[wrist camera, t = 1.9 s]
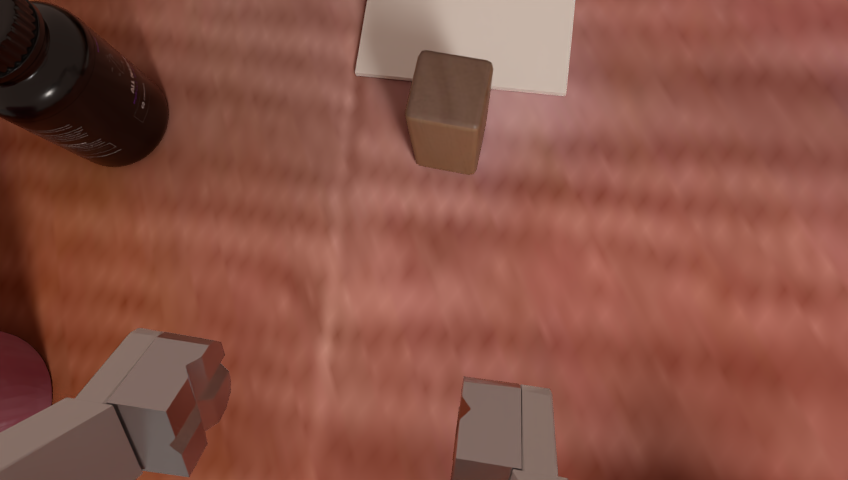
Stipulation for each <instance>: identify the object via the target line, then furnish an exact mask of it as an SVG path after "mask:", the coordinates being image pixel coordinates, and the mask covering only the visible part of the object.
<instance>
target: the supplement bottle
mask: <svg viewBox="0 0 848 480" xmlns="http://www.w3.org/2000/svg"><path fill="white" fill-rule="evenodd" d="M0 117H1V118H3V119H5V120H7V121H9V122H11V123H13V124H15V125H17V126H19V127H21V128H23V129H25V130H27V131H30V132H32V133H34V134H36V135H38V136H40V137H42V138H44V139H46V140H48V141H50V142H52V143H54V144H56V145H58V146H60V147H62V148H64V149H66V150H68V151H70V152H72V153H74V154H76V155H78V156H80V157H83V158H85V159H87V160H89V161H91V162H93V163H96V164H99V165H102V166H108V167H121V166H126V165H130V164H133V163H135V162H138V161H140V160H141V159H143V158H145V157H146V156H147V155H149V154H150V153H151V152H152V151H153V150H154V149H155V148H156V147H157V146H158V144H159V143H160V141H161V140H162V138H163V136H164V134H165V131H166V128H167V124H168V106H167V102H166V99H165V97H164V95H163V93H162V92H161V90H160V89H159V88H158V86H157V85H156V84H155V83H154V82H153V81H151V80H150V79H149V78H148V77H147V76H146V75H145V74H144V73H142V72H141V71H140V70H139V69H138V68H137V67H135V66H134V65H133V64H132V63H131V62H130V61H128V60H127V59H126V58H125V57H124V56H122V55H121V54H120V53H119V52H118V51H117V50H115V49H114V48H113V47H112V46H111V45H109V44H108V43H107V42H106V41H105V40H104V39H102V38H101V37H100V36H99V35H98V34H97V33H95V32H94V31H93V30H92V29H91V28H89V27H88V26H87V25H86V24H85V23H84V22H82V21H81V20H80V19H79V18H77V17H76V16H75V15H73V14H72V13H71V12H69V11H68V10H66V9H64V8H62V7H60V6H57V5H54V4H51V3H46V2H39V1H29V0H0Z"/></svg>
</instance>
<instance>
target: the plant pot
mask: <svg viewBox="0 0 848 480" xmlns="http://www.w3.org/2000/svg"><path fill="white" fill-rule="evenodd" d="M51 404H52V386H51V378H50V375H49V372H48V369H47V367H46V365H45V363H44V361H43V359H42V358H41V356H40V355H39V354H38V352H37V351H36V350H35V349H34V348H33V347H32V346H31V345H30V344H28V343H27V342H26V341H24V340H22V339H21V338H19V337H17V336H14V335H12V334H9V333H5V332H1V331H0V432H2V431H4V430H6V429H8V428H10V427H12V426H14V425H16V424H17V423H19V422H21V421H23V420H25V419H27V418H29V417H31V416H33V415H34V414H36V413H38V412H40V411H42V410H44V409H46V408H48V407H50V406H51Z"/></svg>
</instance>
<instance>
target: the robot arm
mask: <svg viewBox="0 0 848 480" xmlns="http://www.w3.org/2000/svg"><path fill="white" fill-rule="evenodd" d="M224 356H225V353H224V349H223V346H222V343H221V342H218V341H214V340H209V339H203V338H197V337H191V336H186V335H180V334H174V333H169V332H162V331H156V330H149V329H143V328H138V329H136V330H134V331H132V332H131V333H129V334H128V336H127V337H126V338H125V339H124V340H123V342H122V343H121V344H120V345H119V346H118V348H117V349H116V350H115V351H114V352H113V353H112V355H111V356H110V357H109V358H108V359H107V361H106V362H105V363H104V364H103V365H102V367H101V368H100V369H99V370H98V371H97V373H96V374H95V375H94V376H93V377H92V379H91V380H90V381H89V382H88V383H87V385H86V386H85V387H84V388H83V389H82V390H81V392H80V393H79V394H78V395H77V396H76V398H75V399H74V398H65V399H63V400H61V401H59V402H57V403H55V404H53V405H52V406H50V407H48V408H46V409H44V410H42V411H40V412H38V413H36V414H34V415H33V416H31V417H29V418H27V419H25V420H23V421H21V422H19V423H17V424H16V425H14V426H12V427H10V428H8V429H6V430H4V431H2V432H0V480H135V479H137V478H138V477H139V476H140V475H142V473H143V472H142V471H149V472H156V473H163V474H170V475H178V476H185V477H190V475H191V473H192V471H193V469H194V468H195V466H196V464H197V462H198V460H199V458H200V457H201V455H202V453H203V451H204V449H205V447H206V446H207V444H208V443H207V438H206V433H205V431H206V430H208V429H209V428H211V427H212V426H214V425H215V424H217V423H218V422H219V421H220V419H221V417H222V415H223V413H224V411H225V409H226V407H227V403H228V400H229V396H230V393H231V379H230V374H229V371H228V370H227V369H226V368H225V367H224V366H223V365H222V364H221V361H222V359H223V358H224ZM451 480H568V478H564V477H559V476H558V468H557V454H556V440H555V426H554V412H553V399H552V393H551V391H550V389H548V388H541V387H534V386H527V385H519V384H517V383H509V382H502V381H494V380H487V379H479V378H472V377H465V376H464V378H463V384H462V390H461V399H460V406H459V412H458V420H457V427H456V434H455V443H454V452H453V466H452V473H451Z"/></svg>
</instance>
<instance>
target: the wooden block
mask: <svg viewBox="0 0 848 480" xmlns="http://www.w3.org/2000/svg"><path fill="white" fill-rule="evenodd" d="M492 76H493V65H492V63H491V62H490V61H488V60H483V59H477V58H471V57H465V56H459V55H453V54H447V53H441V52H435V51H429V50H423V51H421V53H420V54H419V56H418V58H417V63H416V67H415V71H414V75H413V80H412V84H411V88H410V93H409V97H408V101H407V106H406V110H405V117H406V122H407V126H408V130H409V135H410V139H411V143H412V147H413V151H414V156H415V160H416V163H417V164H418V165H420V166H425V167H430V168H436V169H441V170H446V171H452V172H457V173H462V174H467V175H470V174H474V173H475V171H476V169H477V165H478V160H479V155H480V150H481V145H482V140H483V135H484V131H485V126H486V120H487V112H488V105H489V98H490V91H491V83H492Z"/></svg>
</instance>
